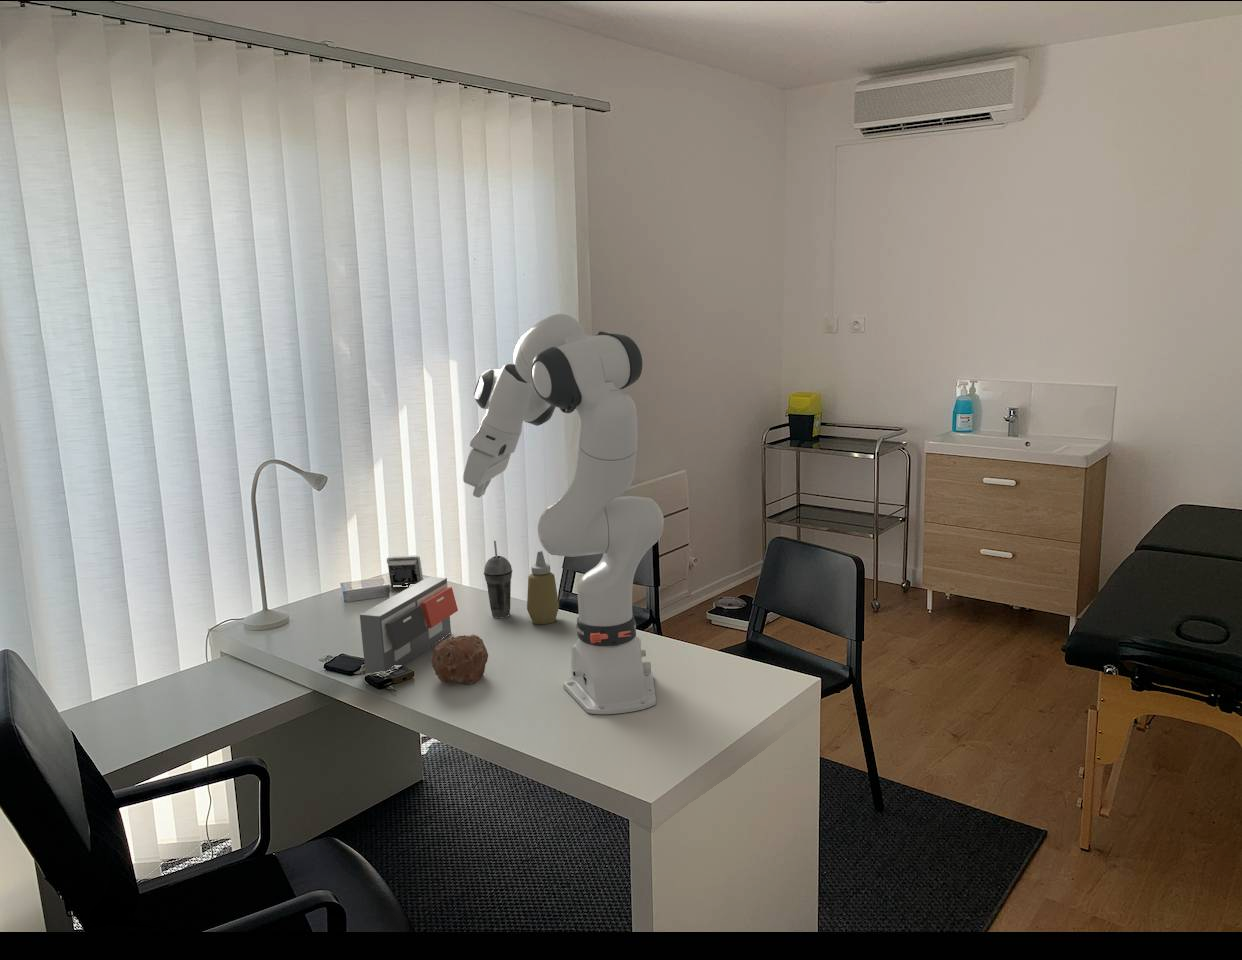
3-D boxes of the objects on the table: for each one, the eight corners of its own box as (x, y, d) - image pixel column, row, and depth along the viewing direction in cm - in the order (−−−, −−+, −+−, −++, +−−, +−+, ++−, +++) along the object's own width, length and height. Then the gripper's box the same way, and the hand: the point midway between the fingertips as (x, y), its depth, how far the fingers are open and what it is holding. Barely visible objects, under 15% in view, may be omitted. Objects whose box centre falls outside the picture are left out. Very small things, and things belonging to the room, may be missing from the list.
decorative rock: (454, 697, 189) (451, 650, 187) (419, 684, 196) (415, 639, 194) (501, 675, 199) (498, 631, 197) (465, 664, 206) (462, 621, 204)
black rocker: (427, 630, 210) (420, 605, 209) (397, 649, 199) (390, 623, 198) (422, 631, 210) (415, 606, 209) (392, 650, 199) (385, 624, 198)
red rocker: (458, 610, 223) (452, 586, 222) (432, 627, 211) (425, 602, 211) (453, 611, 223) (447, 587, 222) (427, 628, 212) (420, 603, 211)
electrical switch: (424, 582, 268) (420, 552, 265) (421, 590, 263) (417, 559, 260) (391, 584, 268) (387, 554, 265) (387, 591, 263) (384, 561, 260)
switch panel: (451, 633, 226) (447, 578, 223) (386, 678, 200) (380, 616, 197) (433, 631, 227) (428, 576, 225) (365, 675, 202) (359, 614, 199)
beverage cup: (517, 610, 241) (513, 535, 237) (512, 619, 233) (506, 543, 230) (490, 610, 241) (485, 536, 238) (483, 620, 234) (478, 543, 230)
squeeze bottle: (556, 627, 227) (552, 556, 224) (524, 626, 228) (519, 556, 225) (563, 615, 235) (559, 547, 232) (532, 615, 236) (528, 547, 233)
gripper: (499, 426, 212) (480, 480, 216) (468, 440, 193) (448, 499, 196) (524, 436, 212) (505, 490, 215) (496, 451, 192) (475, 511, 196)
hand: (478, 495), depth 206 cm, fingers closed
